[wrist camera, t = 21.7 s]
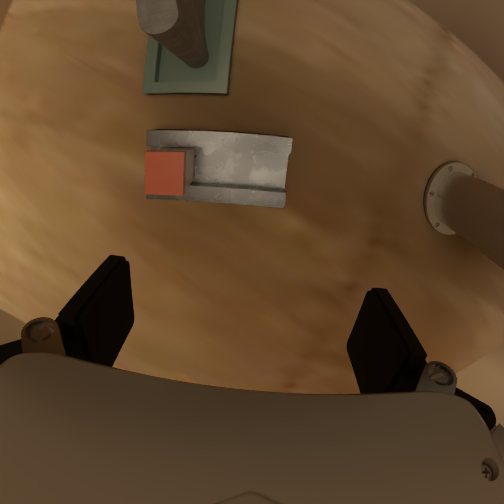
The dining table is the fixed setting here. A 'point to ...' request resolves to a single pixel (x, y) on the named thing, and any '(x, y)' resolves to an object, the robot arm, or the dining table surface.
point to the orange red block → (169, 170)
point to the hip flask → (177, 27)
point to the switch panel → (230, 165)
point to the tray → (195, 79)
